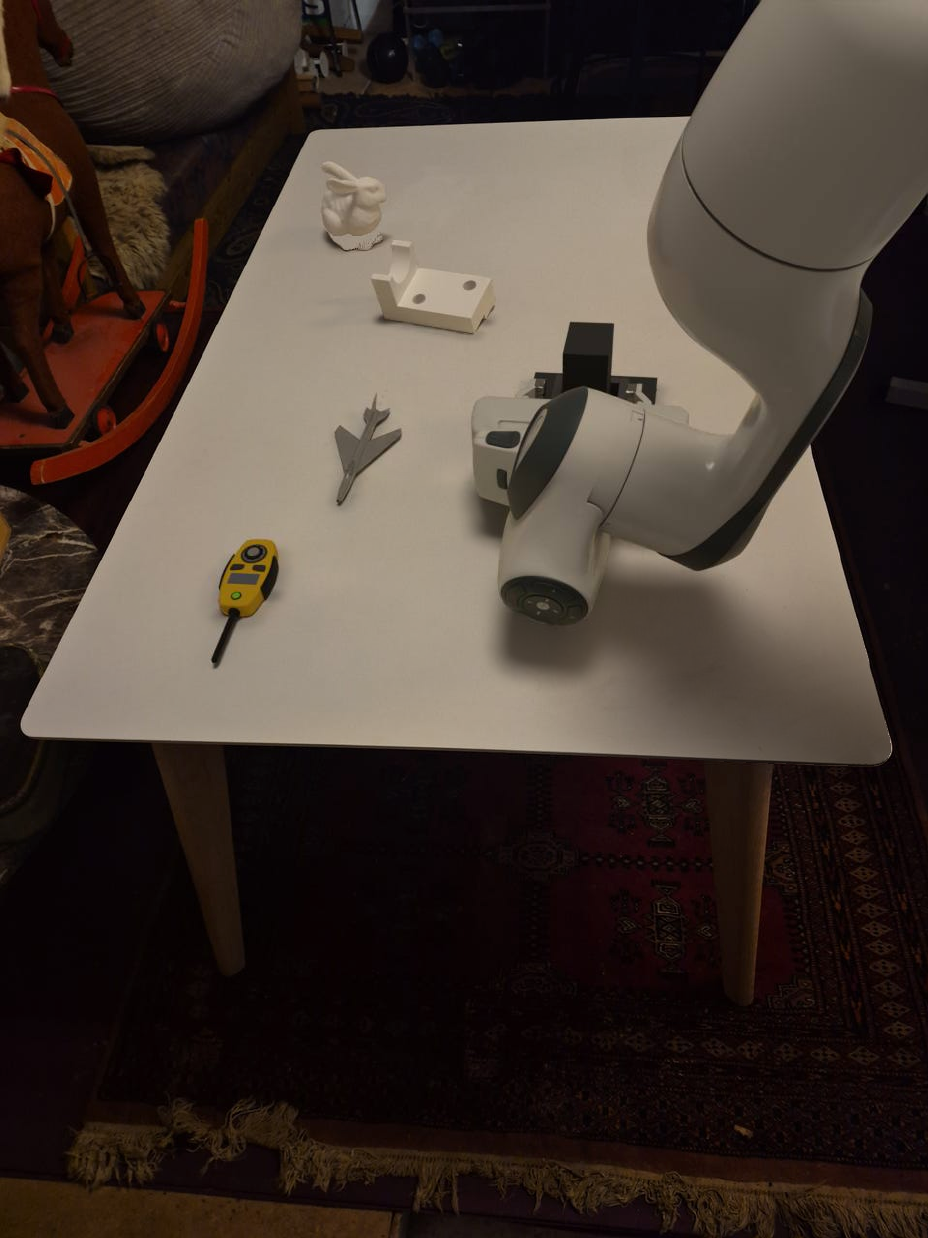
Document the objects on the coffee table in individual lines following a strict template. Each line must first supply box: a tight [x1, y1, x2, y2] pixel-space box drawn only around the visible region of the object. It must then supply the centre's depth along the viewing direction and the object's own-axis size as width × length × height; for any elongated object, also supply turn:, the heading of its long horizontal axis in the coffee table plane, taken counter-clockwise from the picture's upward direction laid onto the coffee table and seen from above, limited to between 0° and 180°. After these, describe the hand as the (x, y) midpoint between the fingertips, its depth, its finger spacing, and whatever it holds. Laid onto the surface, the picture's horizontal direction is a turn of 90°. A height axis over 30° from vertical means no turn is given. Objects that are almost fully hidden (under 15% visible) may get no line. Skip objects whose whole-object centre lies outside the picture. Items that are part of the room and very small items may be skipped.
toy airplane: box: [334, 389, 402, 504], centre depth 94 cm, size 8×21×2 cm, turn 169°
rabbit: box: [320, 160, 388, 252], centre depth 124 cm, size 12×9×12 cm
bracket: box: [370, 239, 497, 334], centre depth 110 cm, size 13×7×8 cm, turn 66°
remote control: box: [210, 538, 280, 664], centre depth 79 cm, size 5×2×15 cm
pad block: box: [561, 321, 615, 395], centre depth 89 cm, size 4×6×10 cm
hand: (586, 386), depth 85 cm, fingers open, 8 cm apart
